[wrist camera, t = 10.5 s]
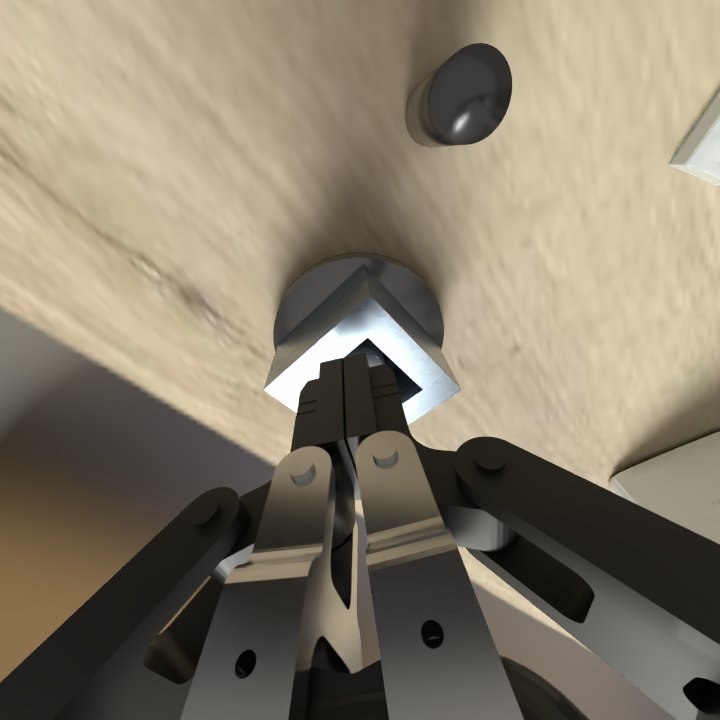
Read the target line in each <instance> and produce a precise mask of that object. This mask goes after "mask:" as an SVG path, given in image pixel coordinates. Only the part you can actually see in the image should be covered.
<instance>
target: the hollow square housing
mask: <svg viewBox="0 0 720 720" xmlns="http://www.w3.org/2000/svg"><path fill="white" fill-rule="evenodd" d="M366 338H369V339H370V340H371V341H372V342H373V343H374V344H375V345H376V346H377V347H378V348H379V349H381V350H382V351H383V352H384V353H385V354H386V355H387V356H388V357H389V358H388V359H387V360H385V365H387V366H388V367H389V368H390V369H391V370H392V371H393V372H394V375H395V379H396V382H397V386H398V390H399V394H400V397H401V401H402V405H403V409H404V413H405V416H406V420H407V424H408V425H409V424H411V423H412V422H414V421H415V420H417V419H418V418H420V417H421V416H423V415H424V414H426V413H427V412H429V411H430V410H432V409H433V408H435V407H436V406H438V405H439V404H441V403H442V402H444V401H445V400H447V399H448V398H450V397H451V396H453V395H454V394H456V393H457V392H459V391H460V390H461V388H460V386H459V384H458V382H457V380H456V379H455V377H454V375H453V373H452V371H451V369H450V367H449V365H448V363H447V361H446V359H445V357H444V355H443V353H442V351H441V349H440V347H439V345H438V344H437V343H436V342H435V341H434V339H433V338H432V337H431V336H430V335H429V334H428V333H427V332H426V331H425V330H424V329H423V328H422V326H421V325H420V324H419V323H418V322H417V321H416V320H415V319H414V318H413V317H412V316H411V314H410V313H409V312H408V311H407V310H406V309H405V308H404V307H403V306H402V305H401V304H400V303H399V301H398V300H397V299H396V298H395V297H394V296H393V295H392V294H391V293H390V292H389V291H388V290H387V288H386V287H385V286H384V285H383V284H382V283H381V282H380V281H379V280H378V279H377V278H376V276H375V275H374V274H373V273H372V272H371V271H370V270H369V269H368V268H367V267H366V266H365V265H364V263H363V264H362V265H361V266H360V267H359V268H358V269H357V270H356V271H355V272H354V273H353V274H352V275H350V276H349V277H348V278H347V279H346V280H345V281H344V282H343V283H342V284H341V285H340V286H339V287H338V288H337V289H335V290H334V291H333V292H332V293H331V294H330V295H329V296H328V297H327V298H326V299H325V300H324V301H323V302H322V303H321V304H319V305H318V306H317V307H316V308H315V309H314V310H313V311H312V312H311V313H310V314H309V315H308V316H307V317H306V318H304V319H303V320H302V321H301V322H300V323H299V324H298V325H297V326H296V327H295V328H294V329H293V330H292V331H291V332H289V333H288V334H287V335H286V336H285V337H284V338H283V339H282V340H281V341H280V342H279V343H278V346H277V350H276V353H275V356H274V359H273V362H272V365H271V368H270V371H269V374H268V377H267V381H266V384H265V387H264V390H265V391H266V392H268V393H269V394H270V395H272V396H273V397H275V398H276V399H278V400H279V401H280V402H282V403H283V404H285V405H286V406H288V407H289V408H291V409H292V410H293V411H295V412H296V413H297V407H298V401H299V394H300V391H301V390H302V388H303V387H304V385H305V384H306V382H307V381H308V380H313V379H318V378H319V369H320V363H321V362H324V361H329V360H333V359H338V358H343V357H345V356H346V355H347V354H348V353H350V352H351V351H352V350H353V349H354V348H356V347H357V346H358V345H359V344H360V343H362V342H363V341H364V340H365V339H366Z"/></svg>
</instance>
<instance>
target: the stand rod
mask: <svg viewBox="0 0 720 720" xmlns="http://www.w3.org/2000/svg"><path fill="white" fill-rule="evenodd" d="M511 94H512V76H511V71H510V67H509V65H508V62H507V60H506V59H505V57H504V56H503V54H502V53H501V52H500V51H499V50H498V49H496V48H495V47H493V46H491V45H488V44H483V43H476V44H471V45H468V46H466V47H464V48H462V49H460V50H459V51H458V52H456V53H455V54H454V55H453V56H452V57H450V58H449V59H448V60H447V61H446V62H445V63H443V64H442V65H441V66H440V67H439V68H438V69H437V70H435V71H434V72H433V73H432V74H431V75H430V76H428V77H427V78H426V79H425V80H424V81H423V82H422V83H420V84H419V85H418V86H417V87H416V88H415V90H414V91H413V93H412V94H411V96H410V98H409V101H408V104H407V107H406V125H407V129H408V131H409V133H410V135H411V137H412V138H413V139H414V140H415V141H416V142H417V143H418V144H420V145H422V146H425V147H438V146H453V145H467V144H473V143H476V142H479V141H481V140H483V139H485V138H486V137H488V136H489V135H490V134H491V133H492V132H493V131H494V130H495V129H496V128H497V127H498V125H499V124H500V123H501V121H502V119H503V118H504V116H505V114H506V111H507V109H508V106H509V103H510V99H511Z"/></svg>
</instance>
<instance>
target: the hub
mask: <svg viewBox="0 0 720 720" xmlns="http://www.w3.org/2000/svg"><path fill="white" fill-rule="evenodd" d="M363 263H364V265H365V266H366V267H367V268H368V269H369V270H370V271H371V272H372V273H373V274H374V275H375V276H376V278H377V279H378V280H379V281H380V282H381V283H382V284H383V285H384V286H385V287H386V288H387V290H388V291H389V292H390V293H391V294H392V295H393V296H394V297H395V298H396V299H397V300H398V301H399V303H400V304H401V305H402V306H403V307H404V308H405V309H406V310H407V311H408V312H409V313H410V314H411V316H412V317H413V318H414V319H415V320H416V321H417V322H418V323H419V324H420V325H421V326H422V328H423V329H424V330H425V331H426V332H427V333H428V334H429V335H430V336H431V337H432V338H433V339H434V341H435V342H436V343H437V344H438V345H439V347H440V349H441V348H442V344H443V337H444V325H443V318H442V314H441V311H440V308H439V305H438V303H437V301H436V299H435V297H434V296H433V294H432V293H431V291H430V290H429V288H428V287H427V285H426V284H425V282H424V281H423V280H422V279H421V278H420V277H419V276H418V275H417V274H416V273H415V272H414V271H412V270H411V269H410V268H409V267H407V266H405V265H404V264H402V263H400V262H398V261H396V260H394V259H391V258H389V257H386V256H382V255H378V254H372V253H348V254H342V255H337V256H334V257H331V258H328V259H325V260H323V261H321V262H319V263H317V264H315V265H314V266H312V267H310V268H309V269H307V270H306V271H305V272H304V273H302V274H301V275H300V276H299V277H298V278H297V279H296V280H295V281H294V283H293V284H292V285H291V286H290V288H289V289H288V291H287V292H286V294H285V296H284V298H283V300H282V302H281V305H280V307H279V310H278V312H277V316H276V319H275V324H274V332H273V333H274V346H275V351H276V350H277V346H278V343H279V342H280V341H281V340H282V339H283V338H284V337H285V336H286V335H287V334H288V333H289V332H291V331H292V330H293V329H294V328H295V327H296V326H297V325H298V324H299V323H300V322H301V321H302V320H303V319H304V318H306V317H307V316H308V315H309V314H310V313H311V312H312V311H313V310H314V309H315V308H316V307H317V306H318V305H319V304H321V303H322V302H323V301H324V300H325V299H326V298H327V297H328V296H329V295H330V294H331V293H332V292H333V291H334V290H335V289H337V288H338V287H339V286H340V285H341V284H342V283H343V282H344V281H345V280H346V279H347V278H348V277H349V276H350V275H352V274H353V273H354V272H355V271H356V270H357V269H358V268H359V267H360V266H361V265H362V264H363ZM365 352H366V355H367V359H368V363H369V367H373V366H377V365H382V364H385V360H387V359H388V358H389V357H388V356H387V355H386V354H385V353H384V352H383V351H382V350H381V349H379V348H378V347H377V346H376V345H375V344H374V343H373V342H372V341H371V340H370V339H369V338H366V339H365V340H364V341H363V342H362V343H360V344H359V345H358V346H357V347H356V348H354V349H353V350H352V351H351V352H350V353H348V354H347V355H346V356H345V357H347V356H351V355H356V354H360V353H365ZM343 360H344V357H343Z"/></svg>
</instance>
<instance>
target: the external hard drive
mask: <svg viewBox="0 0 720 720" xmlns="http://www.w3.org/2000/svg"><path fill="white" fill-rule="evenodd" d="M669 165H670V166H673V167H675V168H678V169H680V170H682V171H685V172H687V173H689V174H692V175H694V176H696V177H699V178H701V179H703V180H706V181H708V182H710V183H713V184H715V185H717V186H720V89H719V91H718V92H717V94H716V95H715V97H714V98H713V100H712V101H711V102H710V104H709V105H708V107H707V108H706V110H705V111H704V113H703V114H702V116H701V117H700V118H699V120H698V121H697V123H696V124H695V126H694V127H693V129H692V130H691V132H690V133H689V135H688V136H687V137H686V139H685V140H684V142H683V143H682V145H681V146H680V147H679V149H678V150H677V152H676V153H675V155H674V156H673V158H672V159H671V161H670V162H669Z"/></svg>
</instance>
